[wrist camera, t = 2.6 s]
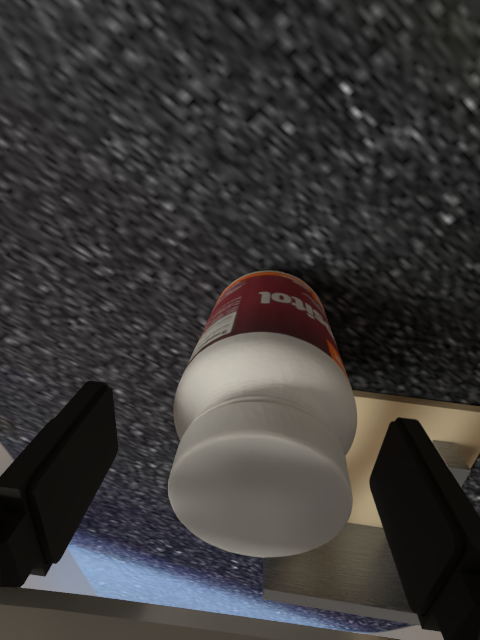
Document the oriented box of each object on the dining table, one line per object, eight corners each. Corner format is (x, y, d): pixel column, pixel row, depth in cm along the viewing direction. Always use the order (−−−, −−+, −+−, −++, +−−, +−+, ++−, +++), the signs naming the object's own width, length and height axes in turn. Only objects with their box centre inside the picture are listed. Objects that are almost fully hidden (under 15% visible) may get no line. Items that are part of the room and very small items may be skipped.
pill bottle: (348, 318, 17) (447, 516, 7) (270, 383, 20) (266, 600, 10) (264, 241, 16) (248, 357, 6) (192, 321, 18) (95, 498, 8)
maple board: (494, 408, 19) (501, 415, 18) (413, 553, 25) (416, 562, 25) (260, 378, 20) (259, 384, 19) (240, 526, 26) (239, 534, 26)
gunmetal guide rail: (452, 442, 19) (506, 524, 15) (401, 541, 24) (431, 627, 19) (283, 419, 20) (286, 492, 16) (264, 520, 24) (262, 598, 20)
